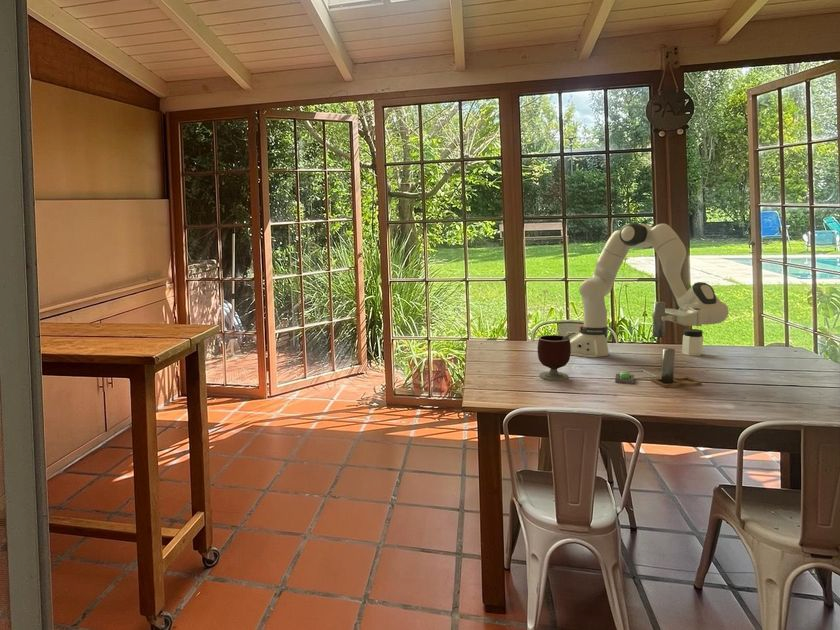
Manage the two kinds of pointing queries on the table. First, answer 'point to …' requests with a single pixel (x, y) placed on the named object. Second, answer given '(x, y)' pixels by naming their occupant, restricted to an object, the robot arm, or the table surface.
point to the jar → (692, 342)
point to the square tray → (643, 371)
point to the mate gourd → (554, 355)
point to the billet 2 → (667, 365)
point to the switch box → (624, 379)
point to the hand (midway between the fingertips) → (657, 317)
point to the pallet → (677, 382)
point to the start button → (624, 375)
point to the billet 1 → (658, 319)
